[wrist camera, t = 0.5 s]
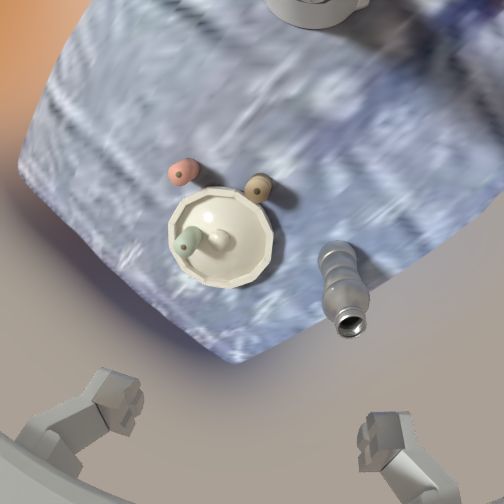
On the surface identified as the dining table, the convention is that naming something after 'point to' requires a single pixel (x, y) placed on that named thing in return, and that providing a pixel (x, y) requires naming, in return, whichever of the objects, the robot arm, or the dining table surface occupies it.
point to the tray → (223, 237)
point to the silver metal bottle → (343, 289)
